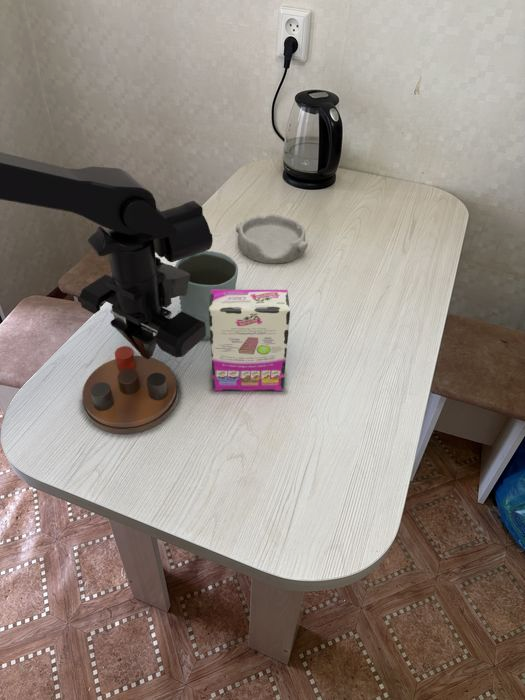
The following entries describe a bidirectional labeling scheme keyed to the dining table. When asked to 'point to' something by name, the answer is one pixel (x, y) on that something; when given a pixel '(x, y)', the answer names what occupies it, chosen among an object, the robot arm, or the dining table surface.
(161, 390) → the spice rack
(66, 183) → the robot arm
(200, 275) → the grey green pot
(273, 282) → the dining table surface
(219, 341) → the candy bar box
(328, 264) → the dining table surface
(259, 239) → the dish
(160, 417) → the base
